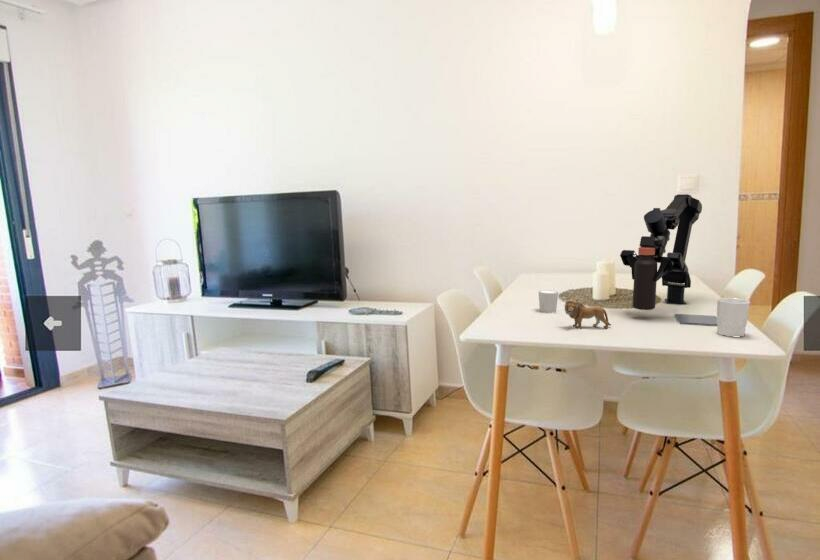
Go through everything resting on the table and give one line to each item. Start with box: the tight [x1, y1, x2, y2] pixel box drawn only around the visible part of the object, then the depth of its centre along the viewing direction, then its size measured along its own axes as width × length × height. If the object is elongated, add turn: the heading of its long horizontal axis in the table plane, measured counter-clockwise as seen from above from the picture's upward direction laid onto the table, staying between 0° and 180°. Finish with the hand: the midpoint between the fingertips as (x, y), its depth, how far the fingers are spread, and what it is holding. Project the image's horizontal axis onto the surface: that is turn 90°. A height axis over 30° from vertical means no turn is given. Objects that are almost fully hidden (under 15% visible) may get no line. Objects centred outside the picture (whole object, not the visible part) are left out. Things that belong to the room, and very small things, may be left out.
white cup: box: [716, 297, 751, 337], centre depth 146 cm, size 8×8×10 cm
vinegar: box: [632, 246, 658, 311], centre depth 166 cm, size 7×7×20 cm
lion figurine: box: [564, 299, 612, 330], centre depth 157 cm, size 15×5×9 cm, turn 91°
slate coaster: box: [674, 313, 718, 327], centre depth 163 cm, size 12×12×1 cm
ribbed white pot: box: [538, 289, 559, 314], centre depth 181 cm, size 7×7×7 cm
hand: (643, 279), depth 165 cm, fingers closed on vinegar, 7 cm apart
